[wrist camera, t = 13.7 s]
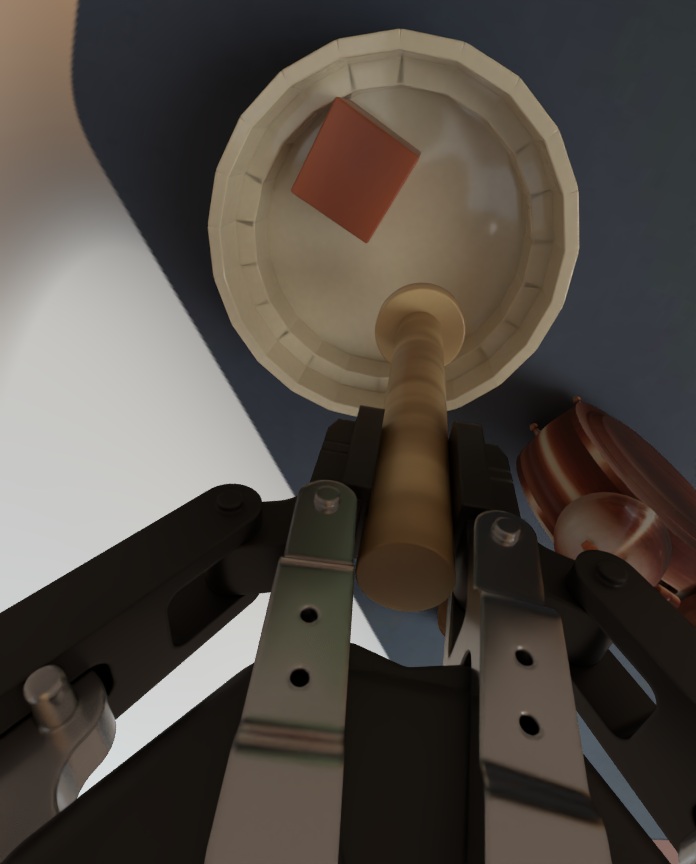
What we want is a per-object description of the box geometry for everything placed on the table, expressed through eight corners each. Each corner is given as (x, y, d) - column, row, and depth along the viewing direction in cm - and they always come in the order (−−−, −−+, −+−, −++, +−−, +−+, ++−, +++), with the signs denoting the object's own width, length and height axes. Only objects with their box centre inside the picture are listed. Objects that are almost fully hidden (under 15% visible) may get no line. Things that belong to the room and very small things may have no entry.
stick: (359, 318, 22) (266, 556, 10) (430, 262, 21) (429, 464, 8) (410, 380, 24) (387, 662, 11) (481, 333, 22) (549, 604, 9)
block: (309, 182, 24) (289, 191, 21) (350, 99, 22) (335, 95, 19) (375, 228, 25) (367, 244, 22) (422, 152, 23) (419, 157, 19)
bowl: (184, 213, 26) (137, 230, 22) (437, -58, 19) (437, -108, 15) (364, 422, 32) (353, 467, 28) (612, 272, 25) (648, 302, 21)
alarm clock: (497, 417, 30) (541, 623, 18) (557, 361, 28) (657, 556, 15) (619, 505, 32) (734, 744, 20) (685, 461, 30) (863, 703, 18)
